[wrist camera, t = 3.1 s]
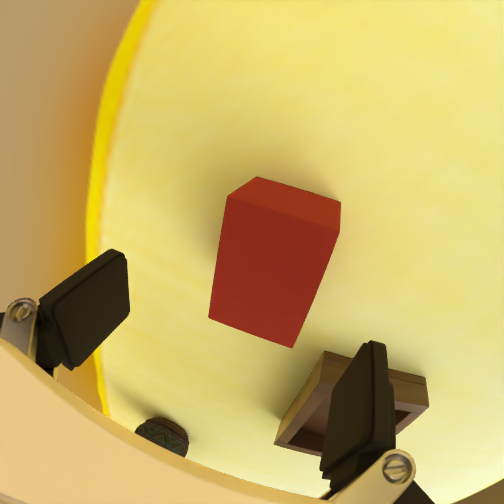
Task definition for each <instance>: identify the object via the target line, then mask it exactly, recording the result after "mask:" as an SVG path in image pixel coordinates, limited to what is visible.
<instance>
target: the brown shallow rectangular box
mask: <svg viewBox="0 0 504 504" xmlns="http://www.w3.org/2000/svg"><path fill="white" fill-rule="evenodd" d="M352 360H353V359H351V358H347V357H344V356H340V355H337V354H334V353H330V352H327V351H324V353H323V354H322V356H321V358H320V360H319V361H318V363H317V365H316V367H315V368H314V370H313V372H312V373H311V375H310V377H309V378H308V380H307V382H306V383H305V385H304V386H303V388H302V390H301V391H300V393H299V394H298V396H297V398H296V399H295V401H294V402H293V404H292V405H291V407H290V408H289V410H288V411H287V413H286V414H285V416H284V417H283V419H282V420H281V423H280V426H279V429H278V432H277V435H276V438H275V441H274V445H277V446H280V447H284V448H287V449H291V450H295V451H299V452H303V453H307V454H311V455H315V456H320V457H322V452H323V446H324V440H325V435H326V428H327V422H328V415H329V409H330V401H331V394H332V390H333V388H334V386H335V385H336V383H337V382H338V380H339V379H340V377H341V376H342V375H343V373H344V372H345V370H346V369H347V367H348V366H349V364H350V363H351V361H352ZM388 374H389V382H390V383H392V384H393V388H394V401H395V427H396V435H397V434H398V433H399V432H401V431H402V430H403V429H404V428H406V427H407V426H408V425H409V424H410V423H411V422H413V421H414V420H415V419H416V418H417V417H418V416H419V415H421V414H422V413H423V412H424V411H425V410H426V409H427V408H428V407H429V400H428V392H427V386H426V378H425V377H420V376H416V375H412V374H407V373H403V372H399V371H395V370H391V369H388Z"/></svg>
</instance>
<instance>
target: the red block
mask: <svg viewBox="0 0 504 504" xmlns="http://www.w3.org/2000/svg"><path fill="white" fill-rule="evenodd" d="M340 214H341V202H339V201H336V200H333V199H330V198H327V197H324V196H320V195H317V194H314V193H311V192H308V191H305V190H301V189H298V188H295V187H291V186H288V185H285V184H281V183H278V182H274V181H271V180H267V179H264V178H260V177H255V178H253V179H252V180H250V181H249V182H247V183H246V184H244V185H243V186H241V187H240V188H239V189H237V190H236V191H234V192H233V193H231V194H230V195H228V196H227V201H226V206H225V212H224V218H223V224H222V230H221V236H220V242H219V248H218V255H217V261H216V267H215V274H214V281H213V287H212V294H211V301H210V308H209V315H208V318H210V319H212V320H215V321H218V322H220V323H223V324H225V325H228V326H230V327H233V328H236V329H238V330H241V331H244V332H246V333H249V334H252V335H255V336H257V337H260V338H263V339H266V340H269V341H272V342H274V343H277V344H280V345H283V346H286V347H289V348H293V346H294V344H295V342H296V339H297V337H298V335H299V333H300V330H301V328H302V326H303V324H304V321H305V319H306V317H307V314H308V312H309V310H310V307H311V305H312V302H313V300H314V298H315V295H316V293H317V290H318V288H319V285H320V283H321V280H322V278H323V275H324V273H325V270H326V267H327V265H328V262H329V260H330V257H331V254H332V252H333V249H334V246H335V243H336V241H337V238H338V235H339V232H340Z"/></svg>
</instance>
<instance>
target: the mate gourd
mask: <svg viewBox="0 0 504 504" xmlns="http://www.w3.org/2000/svg"><path fill="white" fill-rule="evenodd" d="M135 433H136V434H137V435H139V436H141V437H143V438H145V439H147V440H149V441H150V442H152V443H154V444H156V445H158V446H160V447H162V448H164V449H167V450H169V451H171V452H173V453H175V454H177V455H179V456H182V457H185V456H186V454H187V451H188V445H189V440H188V435H187V433H185V432H184V431H183V429H181V428H180V427H179V426H177V425H176V424H175V423H173V422H171V421H169V420H167V419H164V418H152V419H148V420H147V421H146V422H145V423H143V424H141V425H139V427H137V429H136V430H135Z"/></svg>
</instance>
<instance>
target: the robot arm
mask: <svg viewBox="0 0 504 504" xmlns="http://www.w3.org/2000/svg"><path fill="white" fill-rule="evenodd" d="M39 302H40V305H38V306H37V305H36V302H35V301H34V300H32V299H30V298H20V299H17V300H15V301H14V302H12V303H11V304H10V305H9V306H8V308H7V310H6V312H3V313H0V504H435V503H434V502H433V501H432V500H431V499H430V498H429V497H428V496H427V494H426V493H425V492H424V491H423V490H422V489H421V488H420V487H419V486H418V484H417V483H416V482H415V481H414V480H413V479H414V477H415V473H416V465H415V462H414V459H413V458H412V457H411V456H410V454H408V453H407V452H405V451H403V450H400V449H396V427H395V401H394V388H393V384H392V383H390V382H389V374H388V362H387V351H386V345H385V344H383V343H379V342H376V341H372V340H370V341H369V342H368V343H363V344H362V346H361V347H360V349H359V351H358V352H357V354H356V355H355V357H354V358H353V360H352V361H351V363H350V364H349V366H348V367H347V369H346V370H345V372H344V373H343V375H342V376H341V377H340V379H339V380H338V382H337V383H336V385H335V386H334V388H333V390H332V394H331V401H330V409H329V415H328V422H327V428H326V435H325V440H324V446H323V452H322V457H321V462H320V471H323V475H322V479H328V480H331V481H330V486H329V487H330V488H331V489H329V490H328V491H327V492H325V493H324V494H323V495H321V496H320V497H318V498H313V497H309V496H304V495H299V494H295V493H290V492H286V491H282V490H278V489H274V488H270V487H267V486H263V485H259V484H256V483H253V482H249V481H246V480H243V479H239V478H236V477H233V476H230V475H227V474H225V473H222V472H219V471H216V470H213V469H211V468H208V467H206V466H203V465H201V464H198V463H196V462H193V461H191V460H189V459H186V458H184V457H182V456H179V455H177V454H175V453H173V452H171V451H169V450H167V449H164V448H162V447H160V446H158V445H156V444H154V443H152V442H150V441H149V440H147V439H145V438H143V437H141V436H139V435H137V434H136V433H134V432H132V431H130V430H128V429H127V428H125V427H123V426H122V425H120V424H118V423H117V422H115V421H113V420H112V419H110V418H109V417H107V416H105V415H104V414H102V413H101V412H99V411H98V410H96V409H95V408H93V407H92V406H90V405H89V404H87V403H86V402H84V401H83V400H82V399H80V398H79V397H77V396H76V395H75V394H73V393H72V392H71V391H69V390H68V389H67V388H65V387H64V386H63V385H61V384H60V383H59V382H58V366H59V364H60V363H61V362H62V364H63V365H64V366H65V367H66V368H68V369H69V370H71V371H72V370H73V369H74V368H75V367H78V366H80V365H81V364H82V363H83V362H84V361H85V360H86V359H87V358H88V357H89V356H90V355H91V354H92V353H93V352H94V350H95V349H96V348H97V347H98V346H99V345H100V344H101V343H102V342H103V341H104V340H105V339H106V338H107V337H108V336H109V335H110V334H111V333H112V332H113V331H114V330H115V329H116V328H117V327H118V326H119V325H120V324H121V323H122V322H123V321H124V320H125V319H126V318H127V316H128V315H129V312H130V302H129V288H128V270H127V259H126V258H125V255H124V254H123V253H121V252H119V251H117V250H114V249H109V250H107V251H106V252H104V253H103V254H101V255H100V256H98V257H97V258H96V259H94V260H93V261H91V262H90V263H88V264H87V265H85V266H84V267H83V268H81V269H80V270H78V271H77V272H75V273H74V274H73V275H71V276H70V277H68V278H67V279H66V280H64V281H63V282H62V283H60V284H59V285H57V286H56V287H55V288H53V289H52V290H51V291H50V292H48V293H47V294H45V295H44V296H43V297H41V298H40V299H39Z"/></svg>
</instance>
